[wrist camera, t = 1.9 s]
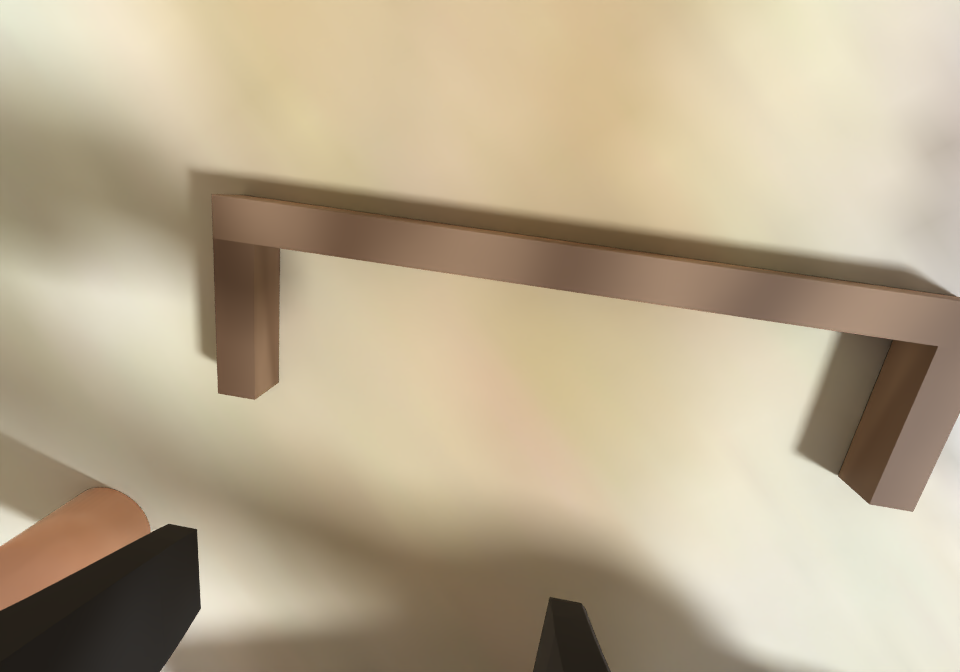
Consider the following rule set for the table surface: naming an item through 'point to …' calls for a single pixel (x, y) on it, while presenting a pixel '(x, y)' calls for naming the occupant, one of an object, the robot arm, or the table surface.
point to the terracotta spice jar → (68, 542)
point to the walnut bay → (617, 274)
